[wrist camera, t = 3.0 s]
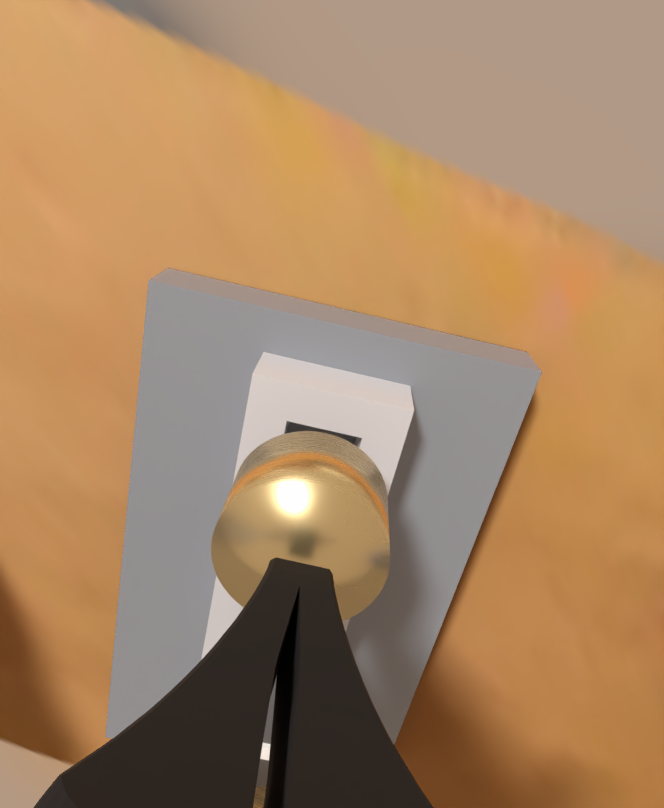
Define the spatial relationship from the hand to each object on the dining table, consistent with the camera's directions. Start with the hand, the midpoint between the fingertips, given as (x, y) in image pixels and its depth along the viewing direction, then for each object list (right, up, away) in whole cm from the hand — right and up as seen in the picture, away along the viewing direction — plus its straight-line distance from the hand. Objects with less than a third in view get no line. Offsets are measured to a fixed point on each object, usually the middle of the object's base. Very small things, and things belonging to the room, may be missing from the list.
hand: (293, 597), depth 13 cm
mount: (-1, -2, +12) cm, 12 cm away
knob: (0, +2, +5) cm, 6 cm away
